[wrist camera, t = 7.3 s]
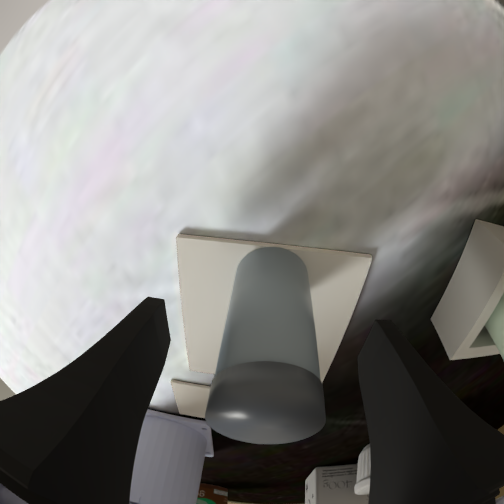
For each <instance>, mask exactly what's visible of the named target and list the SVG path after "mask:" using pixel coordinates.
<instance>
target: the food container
mask: <svg viewBox="0 0 504 504" xmlns="http://www.w3.org/2000/svg"><path fill="white" fill-rule="evenodd" d="M227 497H228V489H227V488H224V487H220V486H215V485H210V484H205V483H200V486H199V491H198V497H197V503H196V504H227Z"/></svg>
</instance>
